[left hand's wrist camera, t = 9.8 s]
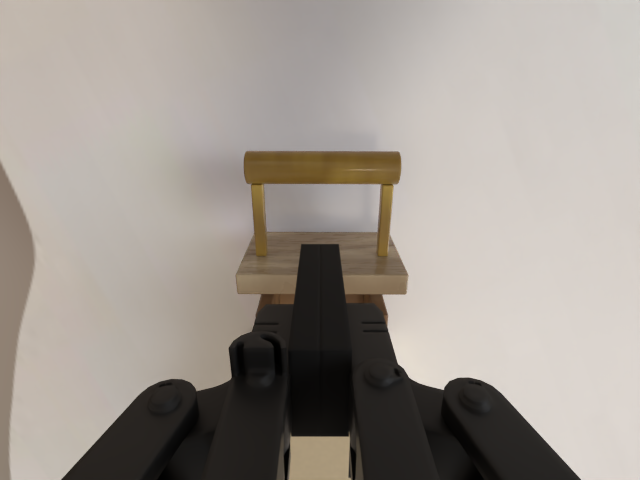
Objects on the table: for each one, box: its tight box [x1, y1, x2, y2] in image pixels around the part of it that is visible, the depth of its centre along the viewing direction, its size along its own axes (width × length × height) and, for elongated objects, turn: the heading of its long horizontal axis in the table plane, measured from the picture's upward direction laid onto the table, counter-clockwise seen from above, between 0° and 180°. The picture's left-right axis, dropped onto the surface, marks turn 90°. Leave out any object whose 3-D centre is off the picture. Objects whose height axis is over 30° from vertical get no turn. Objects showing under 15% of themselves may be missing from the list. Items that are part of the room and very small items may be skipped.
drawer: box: [236, 151, 408, 325], centre depth 24 cm, size 23×9×6 cm, turn 0°
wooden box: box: [289, 436, 351, 480], centre depth 29 cm, size 18×10×8 cm, turn 0°
